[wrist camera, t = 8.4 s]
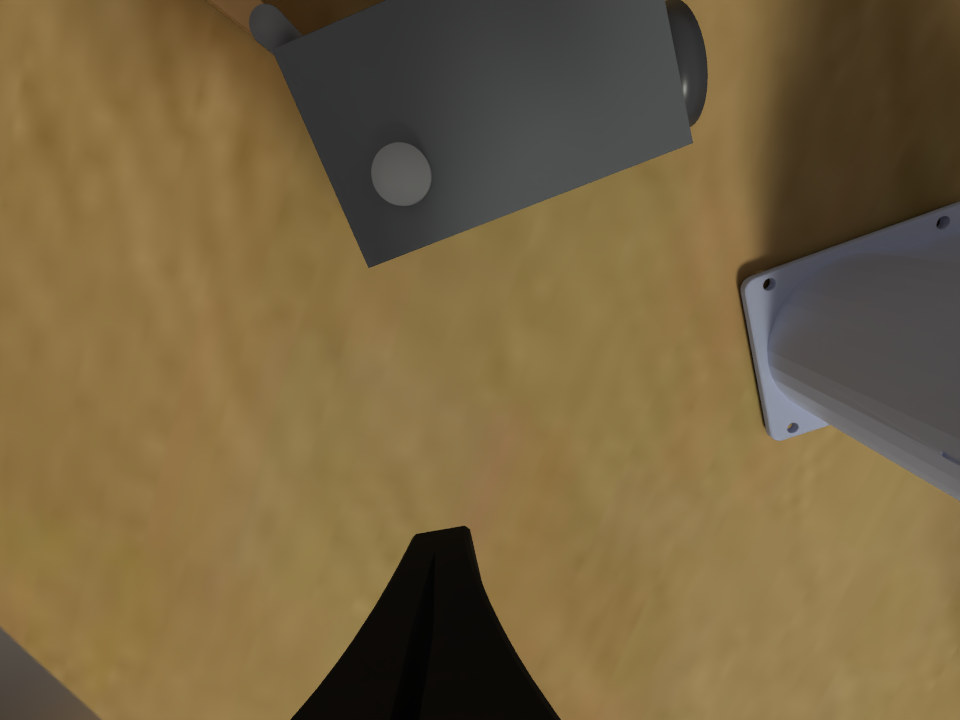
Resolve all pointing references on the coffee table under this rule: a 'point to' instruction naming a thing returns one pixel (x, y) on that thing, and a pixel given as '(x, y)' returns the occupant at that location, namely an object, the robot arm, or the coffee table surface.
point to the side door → (259, 21)
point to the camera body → (488, 105)
